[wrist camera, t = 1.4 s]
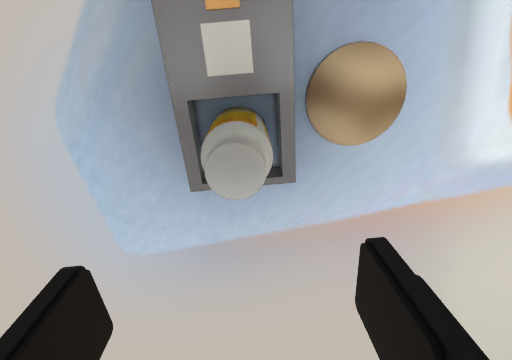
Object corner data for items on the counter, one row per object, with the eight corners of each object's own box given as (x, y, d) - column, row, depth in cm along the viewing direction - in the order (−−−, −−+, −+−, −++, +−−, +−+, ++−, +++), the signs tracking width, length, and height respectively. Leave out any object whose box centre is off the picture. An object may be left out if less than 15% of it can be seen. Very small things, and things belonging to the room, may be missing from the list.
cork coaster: (305, 46, 23) (307, 46, 22) (410, 37, 23) (414, 37, 22) (305, 147, 27) (307, 149, 26) (395, 139, 27) (398, 141, 26)
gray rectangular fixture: (158, -5, 21) (146, -14, 18) (286, -16, 21) (293, -26, 18) (194, 180, 28) (190, 193, 25) (291, 171, 28) (296, 184, 25)
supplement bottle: (277, 133, 26) (295, 173, 17) (239, 170, 27) (237, 223, 19) (237, 92, 24) (234, 113, 16) (198, 133, 26) (176, 174, 17)
